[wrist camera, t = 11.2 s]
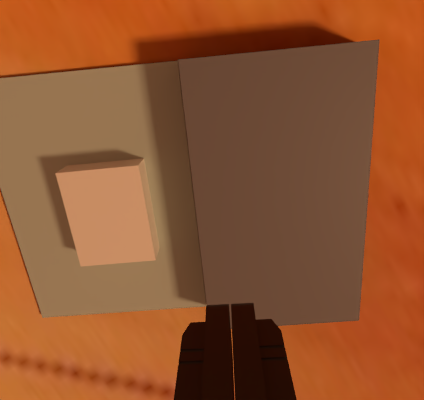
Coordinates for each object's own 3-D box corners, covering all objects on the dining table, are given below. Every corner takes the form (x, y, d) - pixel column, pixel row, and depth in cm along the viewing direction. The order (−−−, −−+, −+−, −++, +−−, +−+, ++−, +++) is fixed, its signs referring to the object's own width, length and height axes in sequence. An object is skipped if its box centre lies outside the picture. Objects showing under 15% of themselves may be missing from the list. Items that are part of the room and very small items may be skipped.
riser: (182, 60, 29) (178, 59, 25) (357, 42, 28) (379, 39, 24) (210, 303, 37) (209, 330, 33) (344, 294, 37) (358, 320, 33)
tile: (138, 165, 29) (144, 158, 31) (55, 173, 29) (66, 165, 31) (155, 260, 32) (159, 247, 34) (80, 266, 32) (89, 253, 35)
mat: (-32, 81, 29) (-35, 81, 29) (178, 60, 29) (177, 60, 28) (44, 315, 38) (42, 317, 38) (206, 303, 37) (206, 306, 37)
